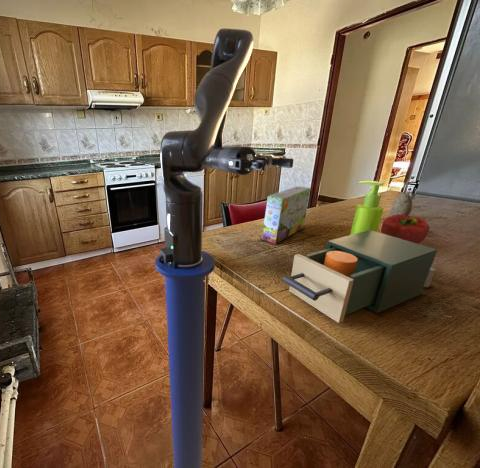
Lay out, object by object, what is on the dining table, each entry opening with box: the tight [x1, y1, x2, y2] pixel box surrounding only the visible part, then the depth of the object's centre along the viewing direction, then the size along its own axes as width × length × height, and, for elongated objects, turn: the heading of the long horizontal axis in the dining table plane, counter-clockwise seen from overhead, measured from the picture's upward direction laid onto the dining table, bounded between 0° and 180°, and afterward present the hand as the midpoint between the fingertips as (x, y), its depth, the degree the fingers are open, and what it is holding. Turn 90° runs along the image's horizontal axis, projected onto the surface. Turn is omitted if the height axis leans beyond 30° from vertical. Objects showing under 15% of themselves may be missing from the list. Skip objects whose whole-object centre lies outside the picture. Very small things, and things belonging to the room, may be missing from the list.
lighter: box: [423, 267, 436, 288], centre depth 59 cm, size 7×2×8 cm, turn 179°
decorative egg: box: [389, 192, 413, 217], centre depth 98 cm, size 6×6×10 cm
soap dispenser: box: [349, 180, 385, 235], centre depth 72 cm, size 6×7×20 cm
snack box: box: [261, 185, 312, 245], centre depth 87 cm, size 21×6×15 cm, turn 132°
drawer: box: [282, 247, 386, 324], centre depth 51 cm, size 18×11×9 cm, turn 113°
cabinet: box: [325, 230, 438, 314], centre depth 56 cm, size 15×13×11 cm
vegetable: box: [380, 214, 430, 245], centre depth 75 cm, size 11×10×10 cm
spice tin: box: [324, 251, 358, 278], centre depth 51 cm, size 5×5×8 cm
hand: (278, 164), depth 60 cm, fingers open, 8 cm apart
